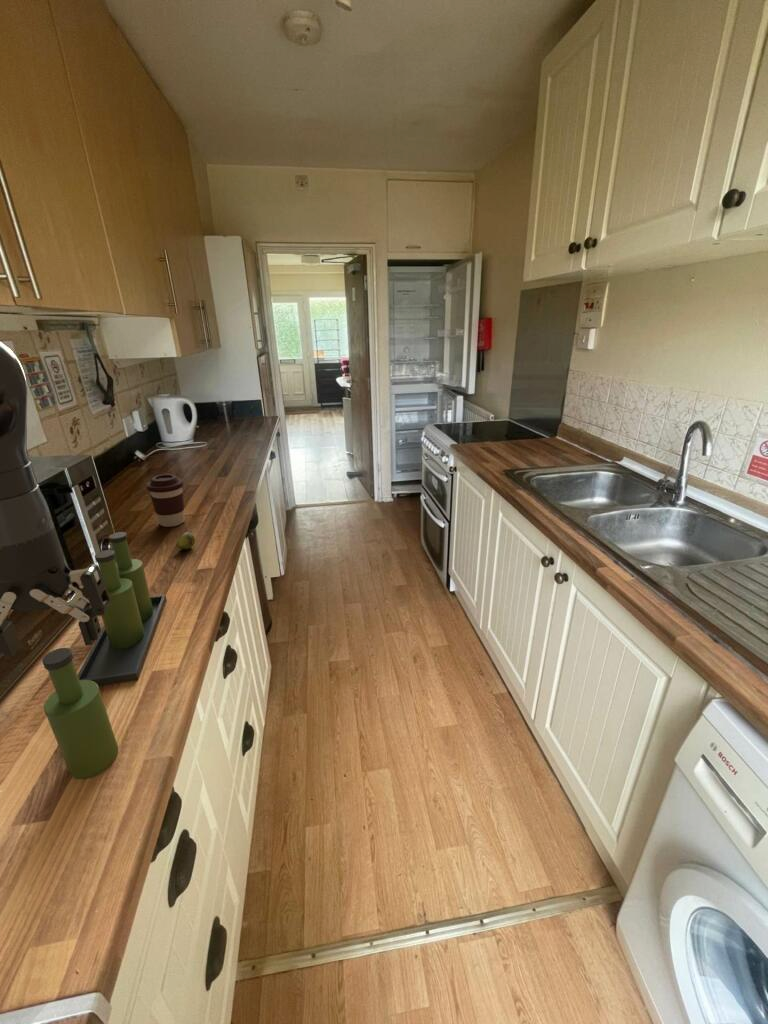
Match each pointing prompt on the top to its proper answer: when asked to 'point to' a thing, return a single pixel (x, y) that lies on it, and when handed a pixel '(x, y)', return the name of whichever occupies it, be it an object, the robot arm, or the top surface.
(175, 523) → the coffee cup
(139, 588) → the bottle far
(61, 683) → the bottle loose
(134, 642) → the bottle mid
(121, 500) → the top surface
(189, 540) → the lime
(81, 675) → the tray
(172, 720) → the top surface
